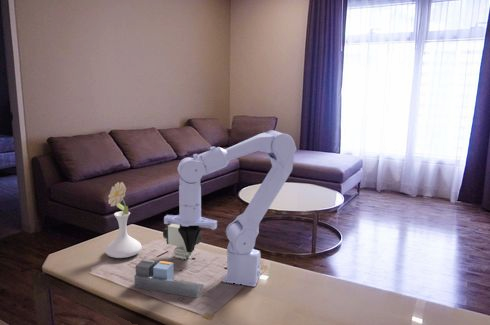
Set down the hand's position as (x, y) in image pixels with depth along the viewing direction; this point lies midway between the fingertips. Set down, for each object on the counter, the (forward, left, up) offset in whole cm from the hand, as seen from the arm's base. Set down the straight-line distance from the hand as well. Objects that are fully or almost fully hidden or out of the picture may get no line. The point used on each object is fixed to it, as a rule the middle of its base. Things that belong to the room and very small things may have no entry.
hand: (190, 250), depth 97 cm
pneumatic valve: (+9, -15, -10) cm, 20 cm away
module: (+7, +3, -9) cm, 12 cm away
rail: (+5, +4, -10) cm, 12 cm away
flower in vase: (+28, -11, -10) cm, 32 cm away
